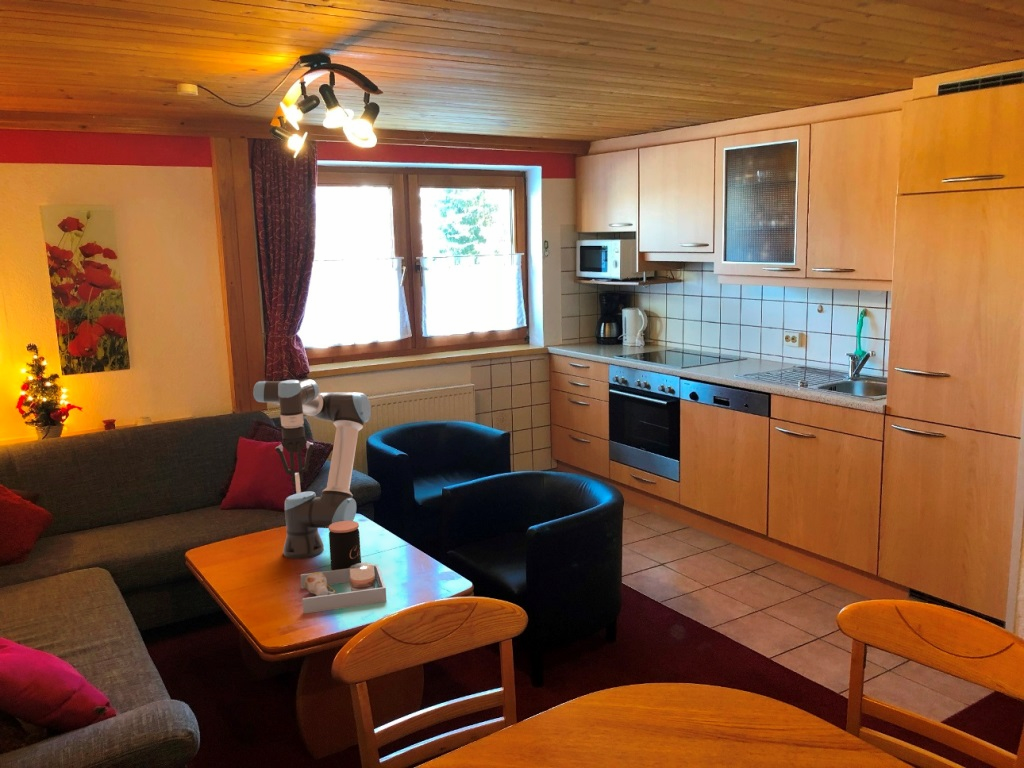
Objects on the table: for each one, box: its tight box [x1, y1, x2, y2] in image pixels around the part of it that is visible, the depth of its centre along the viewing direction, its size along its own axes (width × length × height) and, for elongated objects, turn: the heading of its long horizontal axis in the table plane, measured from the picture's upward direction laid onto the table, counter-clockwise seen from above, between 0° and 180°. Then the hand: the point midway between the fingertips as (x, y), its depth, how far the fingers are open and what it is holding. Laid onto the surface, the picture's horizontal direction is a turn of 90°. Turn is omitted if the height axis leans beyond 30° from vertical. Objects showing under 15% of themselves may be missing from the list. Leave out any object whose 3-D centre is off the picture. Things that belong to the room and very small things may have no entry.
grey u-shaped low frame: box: [299, 564, 387, 615], centre depth 273 cm, size 22×26×5 cm
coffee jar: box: [328, 520, 362, 571], centre depth 291 cm, size 11×11×18 cm
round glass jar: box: [349, 562, 376, 592], centre depth 275 cm, size 8×8×9 cm
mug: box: [305, 571, 336, 597], centre depth 273 cm, size 8×10×10 cm
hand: (298, 491), depth 283 cm, fingers closed
